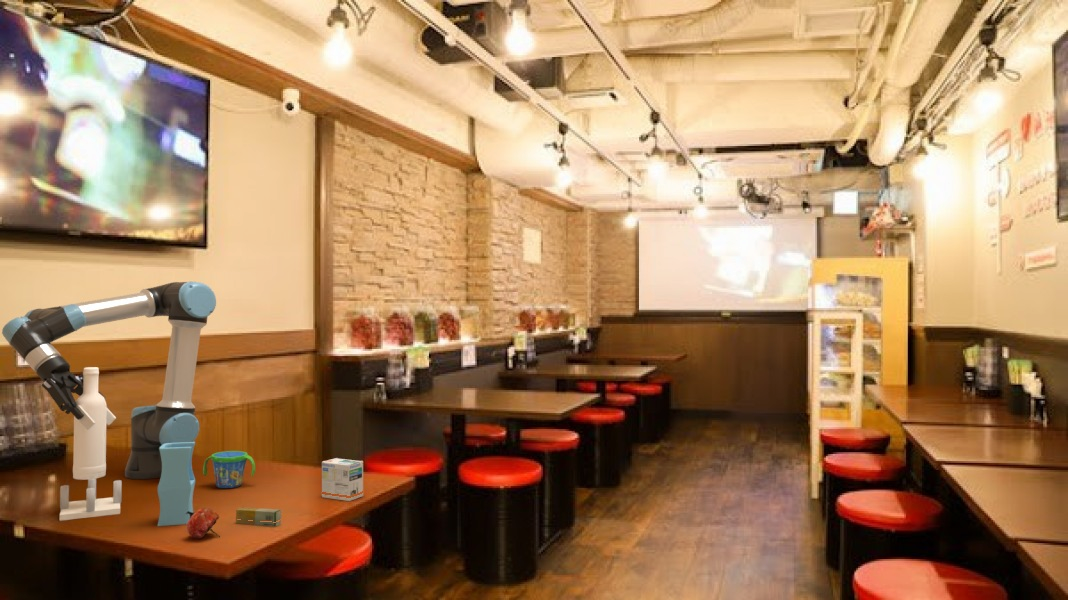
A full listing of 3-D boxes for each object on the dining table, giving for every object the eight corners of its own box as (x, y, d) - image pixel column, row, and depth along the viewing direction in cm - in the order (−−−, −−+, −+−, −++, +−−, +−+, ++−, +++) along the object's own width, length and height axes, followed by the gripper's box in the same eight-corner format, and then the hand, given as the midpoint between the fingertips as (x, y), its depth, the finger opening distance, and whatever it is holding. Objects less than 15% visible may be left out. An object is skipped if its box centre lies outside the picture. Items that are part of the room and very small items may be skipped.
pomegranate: (220, 540, 189) (190, 516, 189) (235, 519, 187) (205, 494, 188) (203, 553, 181) (171, 527, 182) (218, 531, 180) (187, 505, 181)
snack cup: (260, 482, 240) (260, 451, 240) (245, 491, 229) (246, 457, 229) (213, 481, 241) (213, 450, 241) (196, 489, 230) (196, 456, 230)
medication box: (281, 524, 196) (282, 509, 196) (276, 527, 193) (276, 511, 193) (240, 521, 199) (241, 506, 199) (234, 524, 196) (235, 508, 196)
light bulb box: (363, 496, 224) (364, 460, 224) (349, 501, 218) (349, 464, 218) (335, 492, 229) (335, 457, 229) (320, 497, 223) (320, 461, 223)
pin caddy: (121, 501, 216) (121, 475, 216) (121, 513, 204) (121, 486, 204) (61, 507, 209) (61, 480, 209) (58, 521, 197) (58, 492, 197)
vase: (190, 523, 195) (191, 447, 195) (157, 526, 193) (157, 448, 193) (194, 515, 203) (195, 441, 203) (163, 517, 201) (163, 443, 201)
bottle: (65, 478, 204) (67, 368, 204) (91, 472, 211) (93, 366, 212) (87, 480, 201) (88, 369, 201) (112, 474, 209) (114, 367, 209)
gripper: (66, 370, 218) (117, 427, 217) (10, 377, 198) (65, 439, 196) (83, 352, 218) (135, 409, 216) (28, 357, 197) (85, 420, 196)
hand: (102, 423), depth 206 cm, fingers closed on bottle, 8 cm apart
